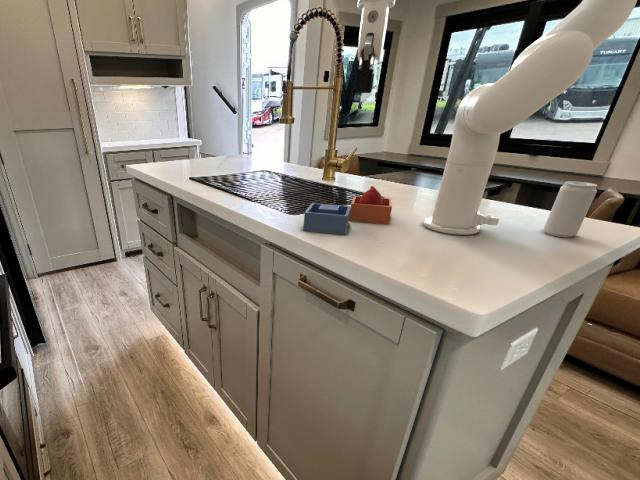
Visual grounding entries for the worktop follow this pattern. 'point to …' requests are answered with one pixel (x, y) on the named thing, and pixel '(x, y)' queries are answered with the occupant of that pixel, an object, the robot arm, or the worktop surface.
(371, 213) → the terracotta bin
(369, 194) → the onion
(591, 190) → the beverage can
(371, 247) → the worktop surface
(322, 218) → the blue bin
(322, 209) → the blue block
